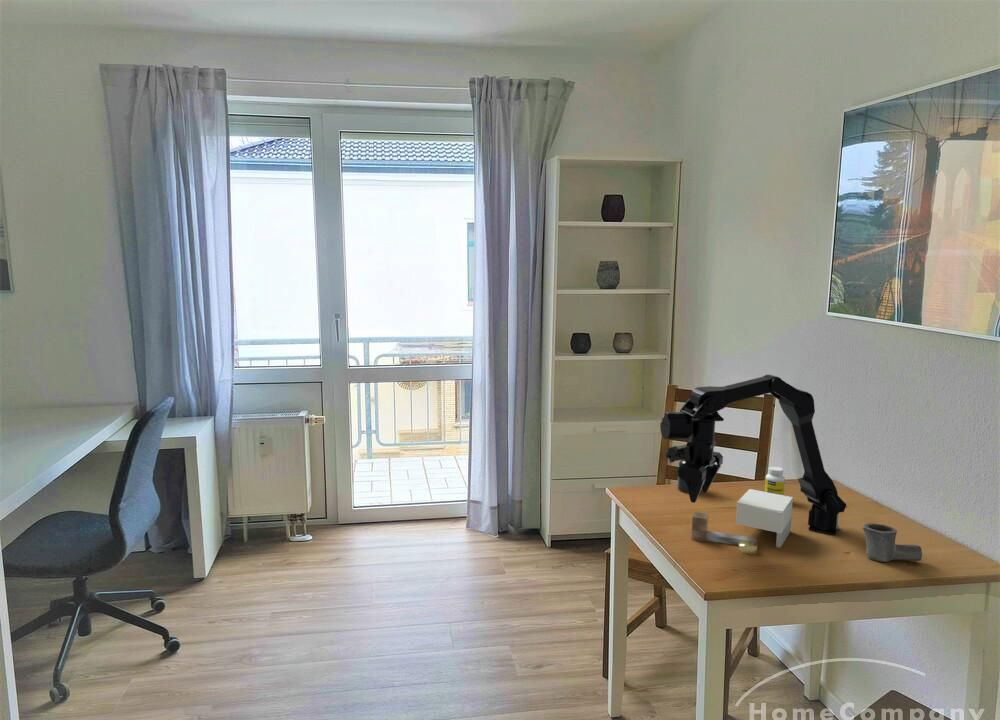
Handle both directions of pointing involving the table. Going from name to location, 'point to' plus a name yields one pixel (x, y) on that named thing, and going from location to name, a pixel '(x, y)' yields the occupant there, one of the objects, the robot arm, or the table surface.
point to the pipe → (888, 545)
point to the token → (747, 547)
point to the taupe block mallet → (703, 535)
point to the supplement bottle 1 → (681, 483)
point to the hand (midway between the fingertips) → (698, 497)
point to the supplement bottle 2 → (775, 481)
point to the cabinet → (766, 513)
